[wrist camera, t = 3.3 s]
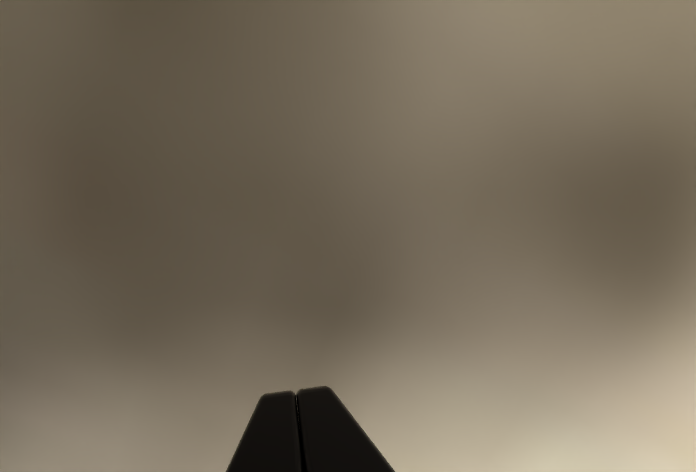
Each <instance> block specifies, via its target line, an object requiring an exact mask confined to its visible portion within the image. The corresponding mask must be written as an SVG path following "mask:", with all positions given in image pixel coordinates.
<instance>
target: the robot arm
mask: <svg viewBox="0 0 696 472" xmlns="http://www.w3.org/2000/svg"><path fill="white" fill-rule="evenodd" d="M296 398H297V401H296ZM297 408H298V410H297ZM298 418H299V420H298ZM299 428H300V429H299ZM226 472H395V471H394V470H393V468H392V467H391V466H390V464H389V463H388V462H387V460H386V459H385V458H384V456H383V455H382V454H381V453H380V451H379V450H378V449H377V447H376V446H375V445H374V443H373V442H372V441H371V440H370V438H369V437H368V436H367V434H366V433H365V432H364V430H363V429H362V428H361V427H360V425H359V424H358V423H357V421H356V420H355V419H354V417H353V416H352V415H351V414H350V412H349V411H348V410H347V408H346V407H345V406H344V404H343V403H342V402H341V401H340V399H339V398H338V397H337V395H336V394H335V393H334V391H333V390H332V389H331V388H330V387H327V386H321V387H313V388H305V389H300V390H299V391H298V392H297V394H296V395H295V393H294V392H293V391H282V392H275V393H267V394H264V395H263V396H261V398H260V399H259V401H258V403H257V405H256V408H255V410H254V412H253V414H252V416H251V418H250V421H249V423H248V425H247V427H246V429H245V431H244V434H243V436H242V438H241V440H240V442H239V444H238V447H237V449H236V451H235V453H234V455H233V457H232V460H231V462H230V464H229V466H228V468H227V470H226Z"/></svg>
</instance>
